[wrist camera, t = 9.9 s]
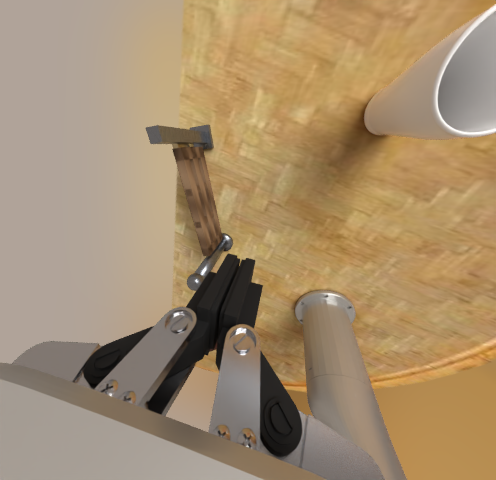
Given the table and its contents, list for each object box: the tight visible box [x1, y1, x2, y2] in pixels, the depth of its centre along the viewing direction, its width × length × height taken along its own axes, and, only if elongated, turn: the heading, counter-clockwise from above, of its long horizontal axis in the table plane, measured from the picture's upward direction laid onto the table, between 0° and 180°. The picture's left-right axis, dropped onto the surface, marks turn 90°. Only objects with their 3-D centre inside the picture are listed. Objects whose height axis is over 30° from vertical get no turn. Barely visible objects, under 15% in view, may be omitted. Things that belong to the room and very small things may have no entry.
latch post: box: [146, 125, 214, 149], centre depth 24 cm, size 5×3×12 cm
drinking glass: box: [364, 4, 496, 140], centre depth 16 cm, size 7×7×15 cm
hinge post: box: [187, 233, 233, 291], centre depth 32 cm, size 4×4×14 cm
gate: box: [173, 147, 223, 256], centre depth 29 cm, size 16×1×6 cm, turn 8°
